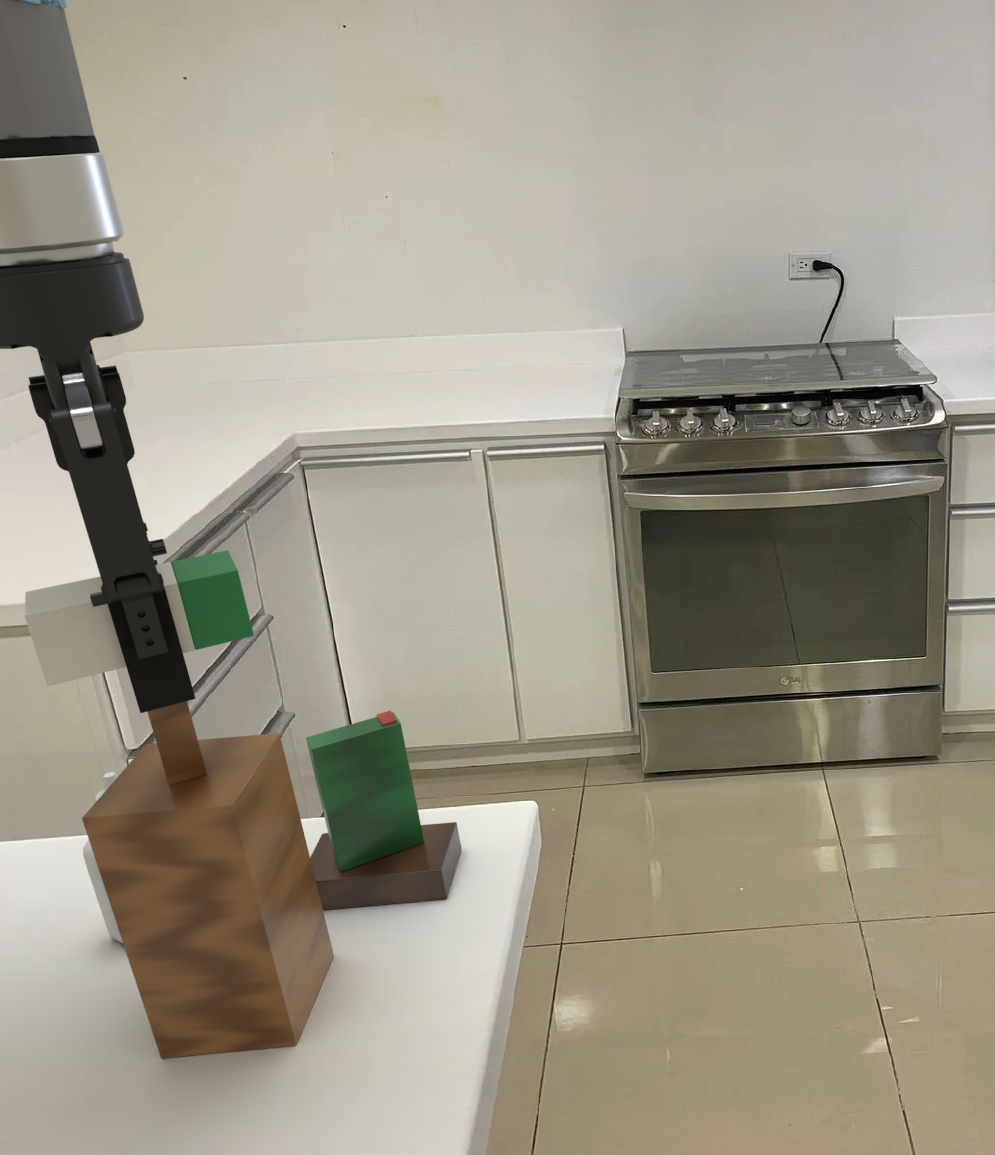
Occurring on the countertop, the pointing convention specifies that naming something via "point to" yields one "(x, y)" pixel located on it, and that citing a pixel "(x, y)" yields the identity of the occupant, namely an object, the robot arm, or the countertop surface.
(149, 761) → the stand
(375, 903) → the dark brown block
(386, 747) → the green carton
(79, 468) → the robot arm
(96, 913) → the countertop surface
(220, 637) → the white green block
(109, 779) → the eye dropper bottle
